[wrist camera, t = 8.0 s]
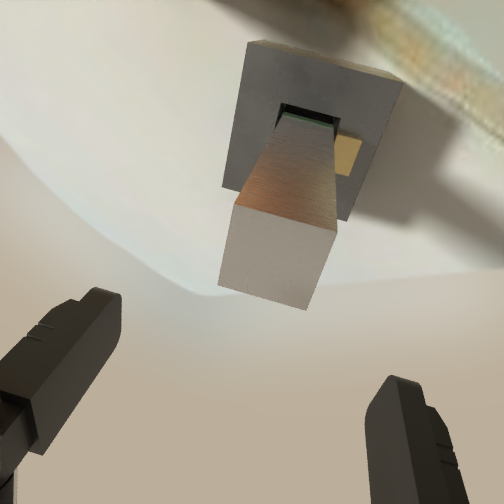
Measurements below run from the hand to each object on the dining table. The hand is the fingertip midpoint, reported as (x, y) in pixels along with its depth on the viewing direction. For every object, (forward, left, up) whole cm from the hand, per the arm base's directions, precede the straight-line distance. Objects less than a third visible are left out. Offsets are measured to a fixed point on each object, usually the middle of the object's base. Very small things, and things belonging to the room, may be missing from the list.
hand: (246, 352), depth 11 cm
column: (0, 0, -23) cm, 23 cm away
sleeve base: (0, 0, -32) cm, 32 cm away
